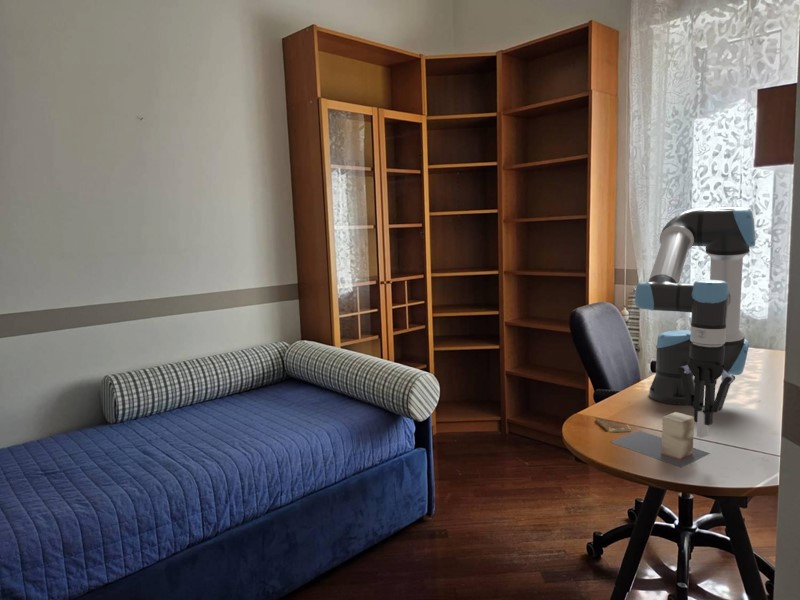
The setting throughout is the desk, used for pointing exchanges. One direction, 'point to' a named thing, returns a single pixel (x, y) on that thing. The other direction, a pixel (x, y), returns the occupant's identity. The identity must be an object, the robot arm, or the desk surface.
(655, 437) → the rubber mat
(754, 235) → the robot arm
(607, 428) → the shard
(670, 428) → the birch block
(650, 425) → the desk surface
